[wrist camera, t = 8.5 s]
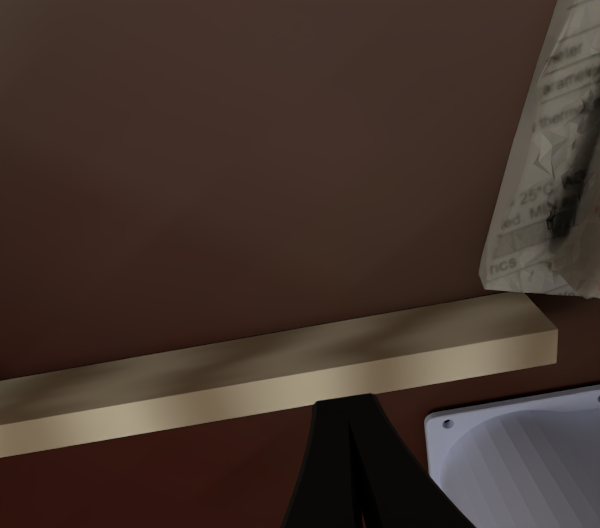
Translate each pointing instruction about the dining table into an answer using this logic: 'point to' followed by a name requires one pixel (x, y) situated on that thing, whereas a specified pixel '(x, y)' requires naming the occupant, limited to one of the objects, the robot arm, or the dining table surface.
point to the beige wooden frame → (275, 372)
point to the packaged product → (553, 170)
